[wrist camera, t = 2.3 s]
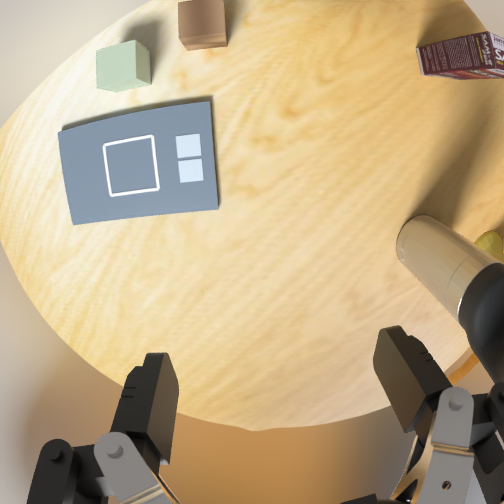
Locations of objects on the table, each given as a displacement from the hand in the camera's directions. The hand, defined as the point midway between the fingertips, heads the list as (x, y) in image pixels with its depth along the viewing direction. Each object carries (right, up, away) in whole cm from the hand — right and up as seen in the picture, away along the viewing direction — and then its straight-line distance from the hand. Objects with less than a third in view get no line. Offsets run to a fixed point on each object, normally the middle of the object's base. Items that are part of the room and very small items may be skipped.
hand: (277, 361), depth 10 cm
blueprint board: (-17, +15, +25) cm, 34 cm away
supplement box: (+27, +32, +20) cm, 47 cm away
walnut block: (-7, +32, +19) cm, 38 cm away
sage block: (-16, +27, +20) cm, 38 cm away
